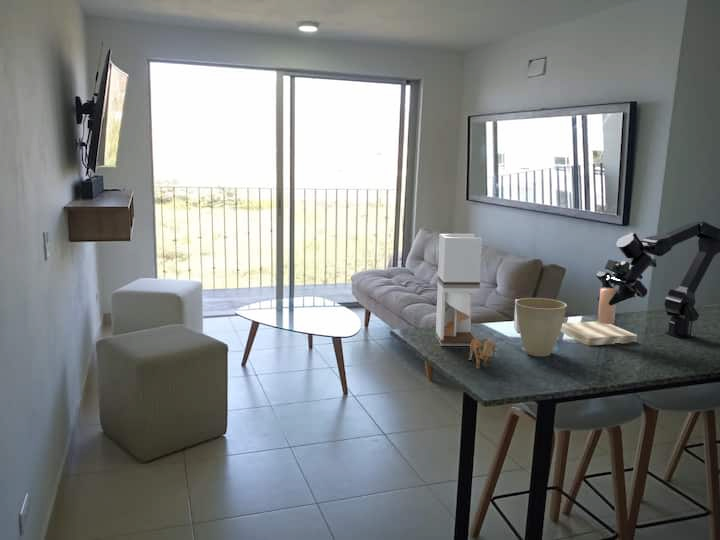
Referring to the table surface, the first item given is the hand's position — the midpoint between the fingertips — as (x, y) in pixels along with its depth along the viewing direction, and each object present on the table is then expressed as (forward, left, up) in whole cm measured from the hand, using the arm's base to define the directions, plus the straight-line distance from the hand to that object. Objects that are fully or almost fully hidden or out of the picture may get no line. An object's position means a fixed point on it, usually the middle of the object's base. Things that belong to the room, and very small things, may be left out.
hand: (603, 302), depth 189 cm
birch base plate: (-3, -6, -13) cm, 15 cm away
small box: (+17, -17, -14) cm, 28 cm away
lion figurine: (+48, +13, -14) cm, 52 cm away
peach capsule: (-1, 0, -7) cm, 7 cm away
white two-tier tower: (+47, -8, -14) cm, 50 cm away
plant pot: (+26, +7, -14) cm, 31 cm away
